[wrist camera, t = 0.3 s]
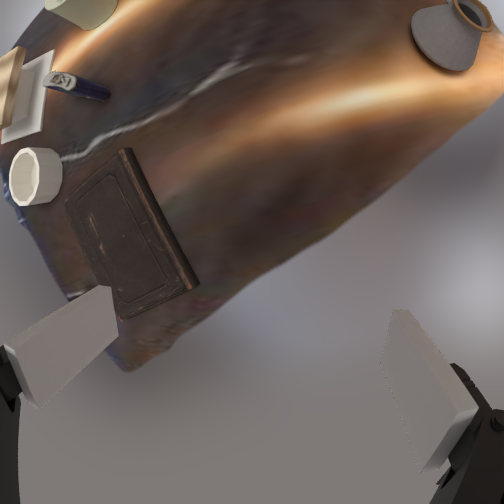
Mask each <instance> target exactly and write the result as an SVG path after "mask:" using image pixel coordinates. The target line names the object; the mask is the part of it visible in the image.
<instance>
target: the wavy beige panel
mask: <svg viewBox="0 0 504 504" xmlns="http://www.w3.org/2000/svg"><path fill="white" fill-rule="evenodd" d="M25 53H26V49H25V48H22V47H19V46H17V47H16V48H14V49H13V50H12V51H10V52H9V53H7V54H6V55H4V56H3V57H2V58H0V130H2V129H4V128H6V127H9V126H11V125H12V117H13V110H14V103H15V97H16V92H17V87H18V82H19V77H20V73H21V68H22V64H23V60H24V57H25Z"/></svg>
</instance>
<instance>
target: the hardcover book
mask: <svg viewBox="0 0 504 504" xmlns="http://www.w3.org/2000/svg"><path fill="white" fill-rule="evenodd" d="M62 205H63V207H64V210H65V212H66V214H67V217H68V219H69V222H70V224H71V226H72V229H73V231H74V233H75V235H76V238H77V240H78V242H79V244H80V246H81V248H82V250H83V253H84V255H85V257H86V259H87V261H88V263H89V265H90V267H91V269H92V271H93V273H94V275H95V277H96V278H97V280H98V282H99V284H100V285H102V286H108V287H111V291H112V298H113V305H114V311H115V313H116V314H117V316H118V318H119V319H120V321H123V320H125V319H128V318H130V317H132V316H134V315H136V314H138V313H141V312H143V311H145V310H147V309H149V308H151V307H154V306H156V305H158V304H160V303H162V302H164V301H167V300H169V299H171V298H173V297H175V296H177V295H179V294H182V293H184V292H186V291H188V290H190V289H192V288H194V287H195V286H197V285H198V284H199V281H198V280H197V278H196V276H195V274H194V272H193V271H192V269H191V267H190V265H189V263H188V261H187V260H186V258H185V256H184V254H183V252H182V250H181V248H180V246H179V245H178V243H177V241H176V239H175V237H174V235H173V233H172V231H171V229H170V227H169V225H168V223H167V222H166V220H165V218H164V216H163V214H162V212H161V210H160V208H159V206H158V204H157V202H156V200H155V198H154V196H153V194H152V191H151V189H150V187H149V185H148V183H147V181H146V179H145V177H144V175H143V173H142V171H141V169H140V166H139V164H138V162H137V160H136V158H135V156H134V153H133V151H132V149H131V148H124V149H122V150H121V151H119V152H118V153H117V154H116V155H114V156H113V157H112V158H111V159H109V160H108V161H107V162H106V163H104V164H103V165H102V166H101V167H100V168H98V169H97V170H96V171H95V172H94V173H92V174H91V175H90V176H89V177H88V178H87V179H85V180H84V181H83V182H82V183H81V184H80V185H79V186H78V187H77V188H75V189H74V190H73V191H72V192H71V193H70V194H69V195H68V196H67V197H66V198H65V199H64V200H63V201H62Z"/></svg>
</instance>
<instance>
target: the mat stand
mask: <svg viewBox="0 0 504 504" xmlns="http://www.w3.org/2000/svg"><path fill="white" fill-rule="evenodd" d="M55 52H56V50H55V49H54V50H52V51H50V52H48V53H46V54H44V55H42V56H40V57H38V58H36V59H34V60H32V61H30V62H29V63H27V64H25V65H23V66H22V68H21V73H20V77H19V82H18V87H17V92H16V97H15V103H14V110H13V117H12V125H11V126H9V127H6V128H4V129H2V139H1V144H5V143H8V142H10V141H13V140H16V139H19V138H22V137H25V136H28V135H31V134H34V133H37V132H40V131H42V127H43V118H44V110H45V103H46V96H47V90H48V88H46V87H44V86H42V85H43V84H42V83H43V79H44V77H45V76H46V75H47V74H50V73H51V69H52V65H53V60H54V56H55Z"/></svg>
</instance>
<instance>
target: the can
mask: <svg viewBox="0 0 504 504" xmlns="http://www.w3.org/2000/svg"><path fill="white" fill-rule="evenodd" d="M117 3H118V0H46V1H45V8H46V9H47V10H50V11H52V12H54V13H56V14H58V15H60V16H62V17H64V18H65V19H67V20H69V21H71V22H73V23H74V24H76V25H78V26H79V27H81V28H82V29H83V30H91V29H94V28H96V27H98V26H100V25H101V24H102V23H104V22H105V21H106V20H107V19H108V18H109V17H110V16H111V14H112V13H113V12H114V10H115V8H116V6H117Z"/></svg>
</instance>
